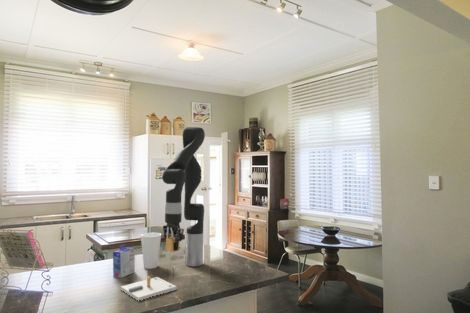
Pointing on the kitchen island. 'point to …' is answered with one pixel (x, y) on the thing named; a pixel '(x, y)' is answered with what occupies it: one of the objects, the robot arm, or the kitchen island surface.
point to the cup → (150, 249)
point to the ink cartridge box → (123, 262)
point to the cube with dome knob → (171, 244)
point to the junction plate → (148, 288)
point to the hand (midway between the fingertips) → (172, 249)
